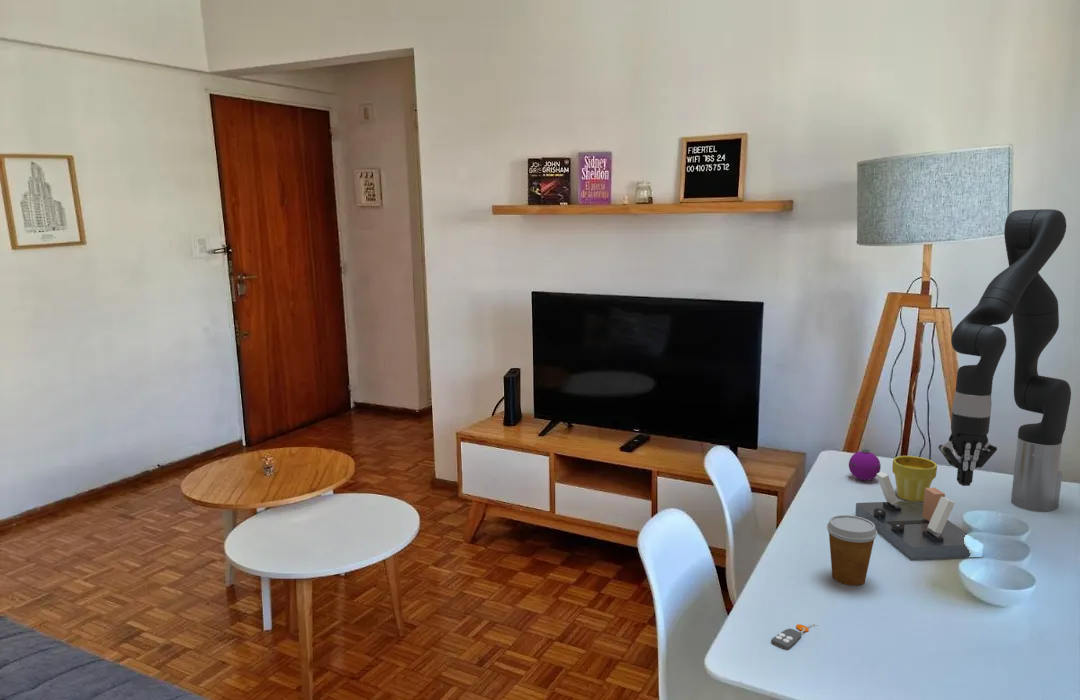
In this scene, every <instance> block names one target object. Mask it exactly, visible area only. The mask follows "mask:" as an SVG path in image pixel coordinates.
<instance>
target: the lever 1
mask: <svg viewBox="0 0 1080 700" xmlns="http://www.w3.org/2000/svg"><path fill="white" fill-rule="evenodd" d="M876 477H877V479H878V482H879V485H880V487H881V490H882V494H883V496H884V499H885V502H889V503H890V504H891V505H893V506H894V507H896V508H897V507H898V505H897V504H896V503H897V501H898V499H897V496H896V493H895V491H894V488H893V485H892V482H891V479H890V477H889V475H888V474H887V473H886V472H884V471H880V472H879V473H877V476H876Z"/></svg>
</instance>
